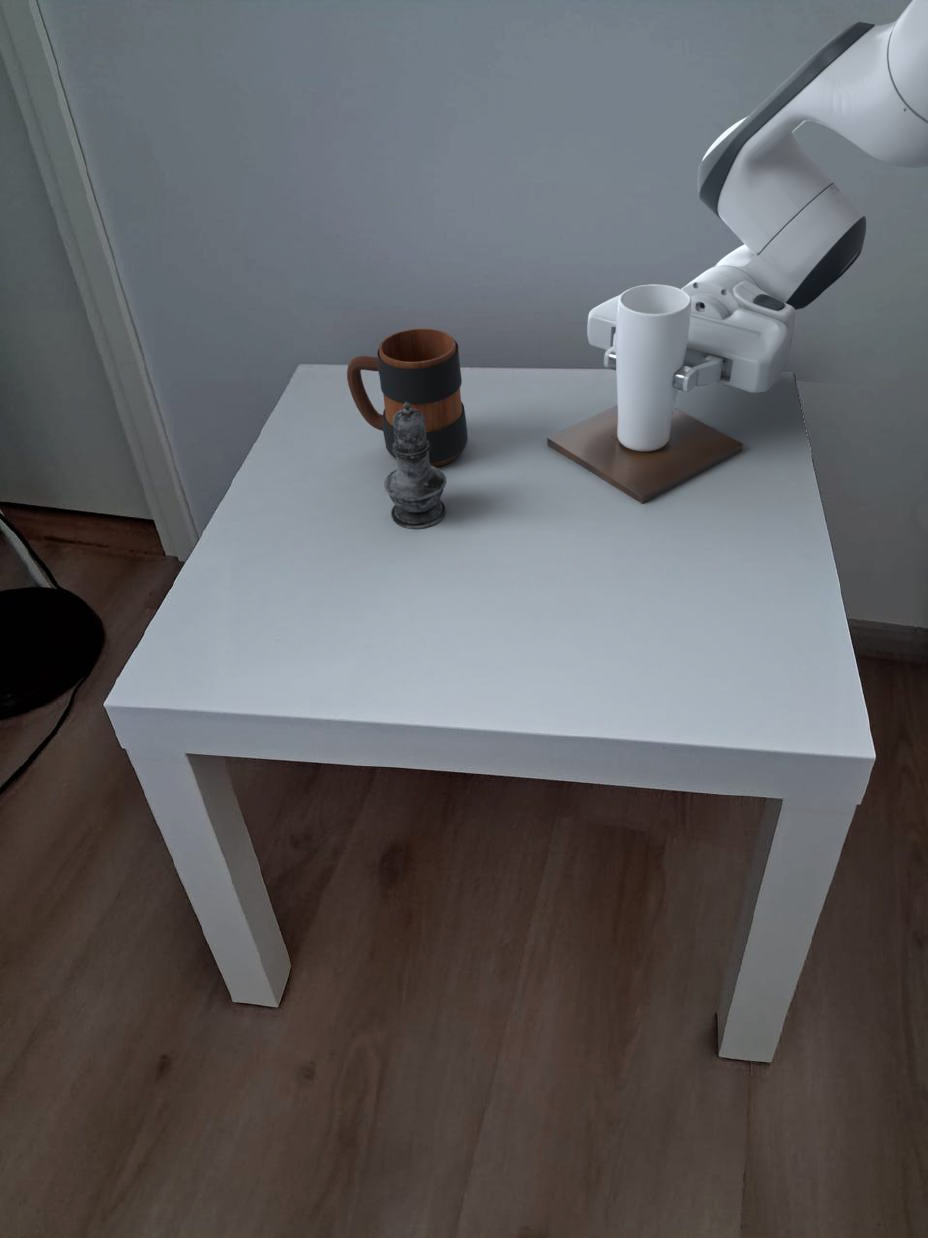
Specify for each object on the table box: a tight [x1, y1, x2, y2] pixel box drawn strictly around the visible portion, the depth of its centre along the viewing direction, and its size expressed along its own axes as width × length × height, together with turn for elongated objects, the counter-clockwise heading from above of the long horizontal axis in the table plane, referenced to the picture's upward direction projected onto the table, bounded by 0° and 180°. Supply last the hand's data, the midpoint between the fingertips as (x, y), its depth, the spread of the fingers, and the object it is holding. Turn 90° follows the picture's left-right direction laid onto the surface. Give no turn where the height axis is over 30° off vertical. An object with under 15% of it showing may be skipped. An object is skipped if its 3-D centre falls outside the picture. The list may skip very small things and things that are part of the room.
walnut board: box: [546, 404, 744, 505], centre depth 96 cm, size 14×14×1 cm
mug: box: [346, 328, 469, 468], centre depth 95 cm, size 9×12×12 cm
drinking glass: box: [615, 283, 691, 452], centre depth 91 cm, size 7×7×15 cm
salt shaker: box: [383, 402, 447, 530], centre depth 86 cm, size 6×6×12 cm
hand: (644, 372), depth 90 cm, fingers closed on drinking glass, 6 cm apart
